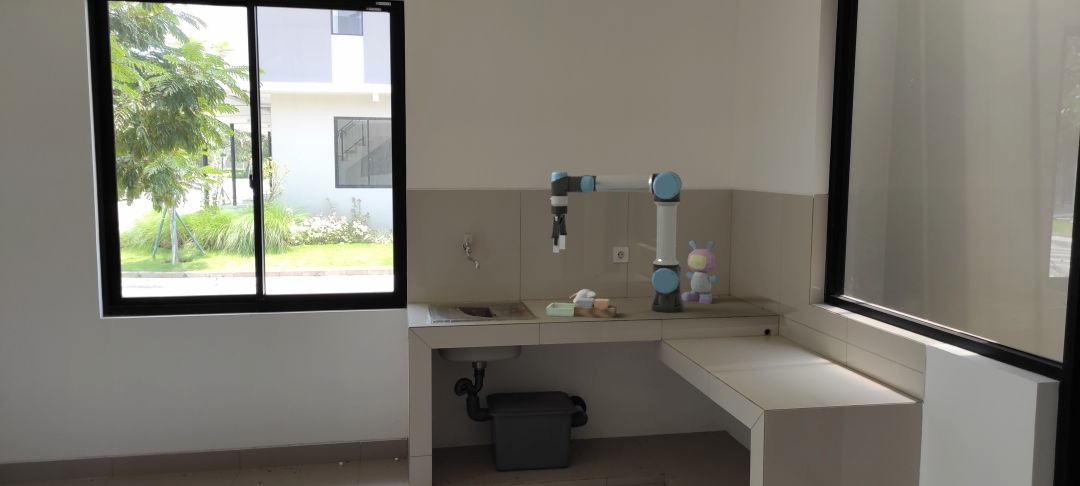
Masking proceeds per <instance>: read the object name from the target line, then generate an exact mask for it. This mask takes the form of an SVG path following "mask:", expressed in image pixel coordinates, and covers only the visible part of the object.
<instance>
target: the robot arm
mask: <svg viewBox="0 0 1080 486" xmlns="http://www.w3.org/2000/svg"><path fill="white" fill-rule="evenodd" d="M682 183H683V182H682V179H681V177H680V176H679V174H677V173H675V172H673V171H663V172H661V173H660V172H659V173H658V172H657V173H651V174H650V175H590V174H589V175H588V174H584V175H573V176H572V175H569V174H568V172H567V171H552V173H551V180H550V184H551V185H550V186H551V187H550V188H551V189H550V191H551V195H550V196H551V197H550V198H549V200H550V201H551V207H550V208H551V209H550V211H551V214H552V215H555V216H553V224H552V234H551V236H550V238H551V239H552V253H555V254H556V253H557V254H559V253H560V250H566V236H567V235H568V233H567V227H566V226H567V225H566V215H567V214H568V203H569V199H568V193H576V194H577V193H578V194H579V193H584V194H587V193H588V194H589V193H592V192H608V193H609V192H614V193H615V192H617V193H618V192H620V193H622V192H624V193H650V194H651V195H653V203H654V204H655V205H656V255H655V256H656V257H655V260H654V261H653V262H652V277H651V285H652V287H653V289H654V290H655V293H654V296H653V299H652V302H651V307H650V308H651V310H652V311H655V312H659V313H680V312H682V311H684V310H685V305H684V302H683V301H684V300H682V298H681V296H682V294H681V283H682V282H681V278H682V277H681V275H682V273H681V272H682V271H681V269H682V265H681V262H680V261H678V260H677V258H676V257H677V212H678V211H677V210H678V208H677V206H678V205H679V204H680V203H681V189H682V187H683V185H682Z"/></svg>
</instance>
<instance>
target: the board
mask: <svg viewBox="0 0 1080 486" xmlns="http://www.w3.org/2000/svg"><path fill="white" fill-rule="evenodd" d="M617 307H618V306H617V304H609V307H608V308H596V307H594V306H593V307H579V303H578V304H577V305H576V306H575V307H574V316H573V317H582V318H583V317H585V318H587V317H588V318H589V317H590V318H605V319H606V318H607V319H608V318H609V319H614V317H615V316H616V315H617Z"/></svg>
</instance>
